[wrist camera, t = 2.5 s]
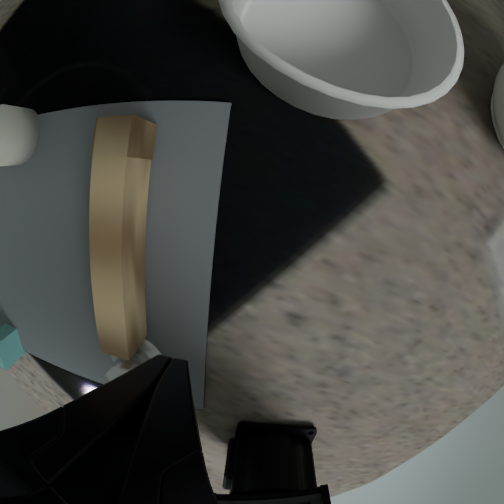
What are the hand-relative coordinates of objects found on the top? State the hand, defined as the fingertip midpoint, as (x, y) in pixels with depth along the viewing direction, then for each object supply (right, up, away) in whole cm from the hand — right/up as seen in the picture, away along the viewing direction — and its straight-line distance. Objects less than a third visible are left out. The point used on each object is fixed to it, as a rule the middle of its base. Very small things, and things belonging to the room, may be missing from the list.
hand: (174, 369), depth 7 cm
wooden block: (-5, +4, +8) cm, 10 cm away
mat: (-13, +3, +9) cm, 16 cm away
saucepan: (+6, +20, +4) cm, 21 cm away
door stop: (-15, +12, +7) cm, 20 cm away
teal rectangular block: (-21, -5, +12) cm, 25 cm away
